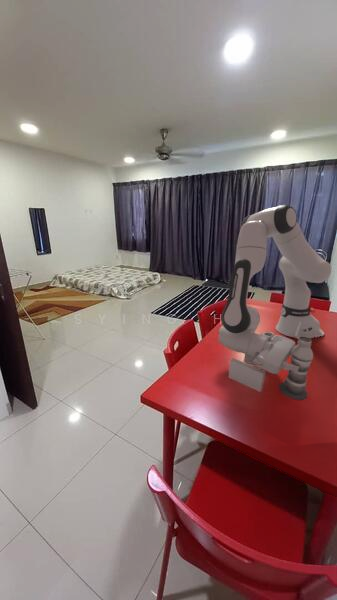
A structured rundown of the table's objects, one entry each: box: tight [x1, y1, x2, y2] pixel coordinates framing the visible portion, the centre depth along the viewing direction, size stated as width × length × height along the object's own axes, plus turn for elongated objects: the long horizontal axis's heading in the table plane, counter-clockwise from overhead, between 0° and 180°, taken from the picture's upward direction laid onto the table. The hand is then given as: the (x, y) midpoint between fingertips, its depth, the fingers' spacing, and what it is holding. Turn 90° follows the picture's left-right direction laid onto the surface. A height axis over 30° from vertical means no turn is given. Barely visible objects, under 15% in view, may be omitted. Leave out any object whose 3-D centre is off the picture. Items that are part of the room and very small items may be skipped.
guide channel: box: [228, 354, 266, 393], centre depth 91 cm, size 12×16×8 cm
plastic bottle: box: [284, 336, 314, 394], centre depth 80 cm, size 6×7×20 cm
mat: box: [278, 380, 309, 401], centre depth 84 cm, size 9×9×1 cm
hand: (302, 362), depth 79 cm, fingers open, 8 cm apart
